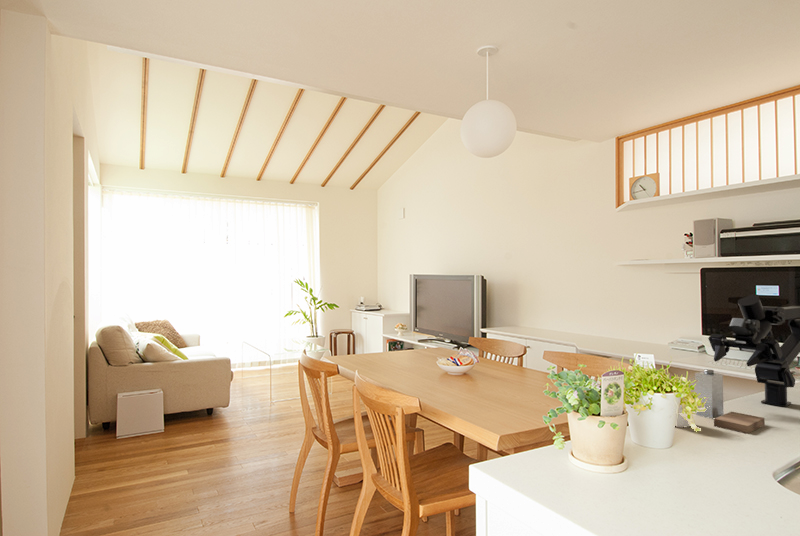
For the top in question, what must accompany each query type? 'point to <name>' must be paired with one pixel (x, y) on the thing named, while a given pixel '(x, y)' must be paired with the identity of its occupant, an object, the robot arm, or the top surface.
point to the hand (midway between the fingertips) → (730, 362)
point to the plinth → (739, 422)
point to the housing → (710, 392)
